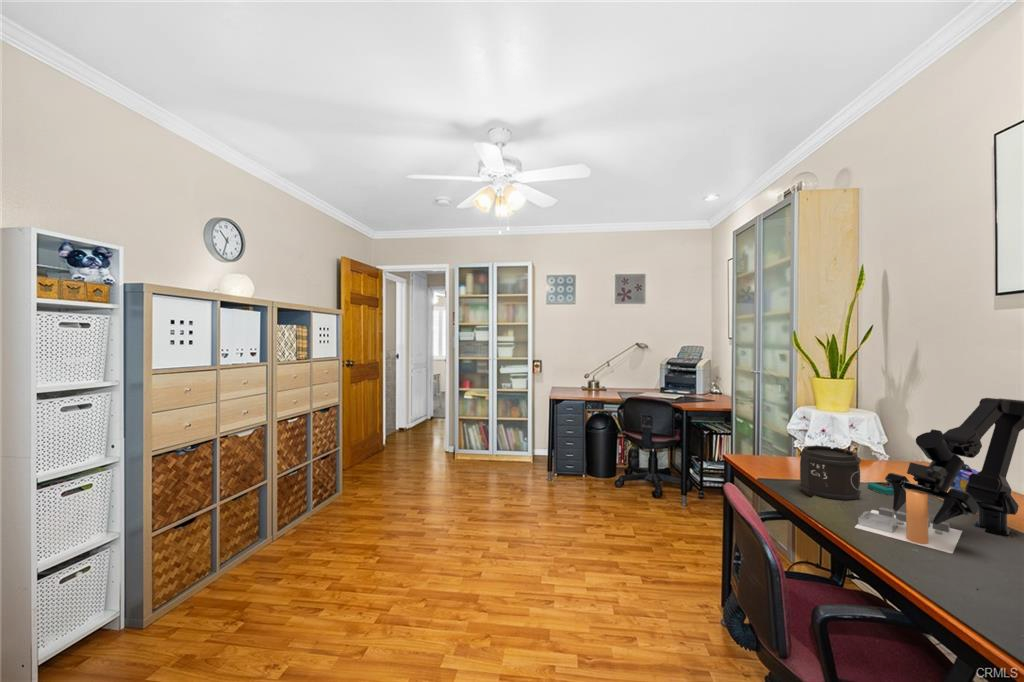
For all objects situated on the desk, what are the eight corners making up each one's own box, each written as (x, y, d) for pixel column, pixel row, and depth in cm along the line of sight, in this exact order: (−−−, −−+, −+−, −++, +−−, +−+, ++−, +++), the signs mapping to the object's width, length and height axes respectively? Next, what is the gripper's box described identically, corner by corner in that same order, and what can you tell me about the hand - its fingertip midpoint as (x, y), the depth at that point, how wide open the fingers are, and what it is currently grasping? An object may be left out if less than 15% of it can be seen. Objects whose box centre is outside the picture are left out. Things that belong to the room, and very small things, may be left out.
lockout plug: (908, 534, 121) (907, 488, 121) (929, 540, 117) (929, 492, 117) (904, 539, 118) (904, 491, 118) (926, 545, 114) (926, 496, 114)
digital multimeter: (866, 489, 161) (866, 481, 161) (903, 487, 162) (903, 480, 162) (884, 496, 154) (884, 488, 154) (923, 495, 155) (923, 486, 155)
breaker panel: (872, 513, 138) (872, 503, 138) (962, 535, 123) (962, 523, 123) (854, 531, 126) (854, 520, 126) (952, 558, 110) (952, 545, 110)
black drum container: (853, 490, 160) (853, 447, 159) (869, 507, 143) (868, 459, 143) (795, 483, 167) (795, 442, 167) (804, 499, 151) (803, 454, 151)
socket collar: (865, 517, 132) (865, 511, 132) (898, 525, 126) (898, 518, 126) (858, 524, 128) (858, 517, 128) (892, 533, 122) (892, 526, 122)
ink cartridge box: (948, 501, 148) (948, 459, 147) (969, 503, 146) (968, 460, 146) (970, 513, 138) (970, 467, 138) (992, 514, 137) (992, 468, 136)
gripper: (889, 444, 128) (861, 486, 125) (971, 462, 110) (941, 510, 107) (908, 469, 130) (881, 510, 127) (992, 490, 112) (963, 538, 109)
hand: (913, 516), depth 117 cm, fingers open, 9 cm apart
